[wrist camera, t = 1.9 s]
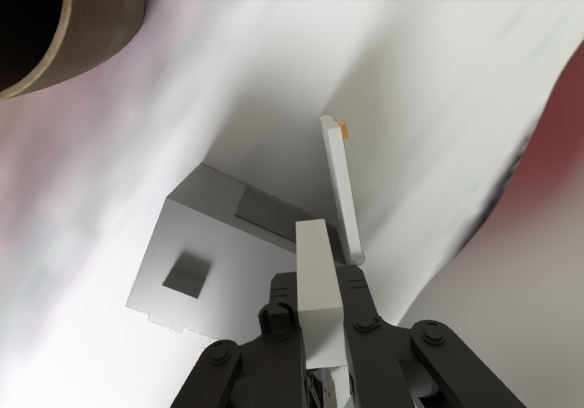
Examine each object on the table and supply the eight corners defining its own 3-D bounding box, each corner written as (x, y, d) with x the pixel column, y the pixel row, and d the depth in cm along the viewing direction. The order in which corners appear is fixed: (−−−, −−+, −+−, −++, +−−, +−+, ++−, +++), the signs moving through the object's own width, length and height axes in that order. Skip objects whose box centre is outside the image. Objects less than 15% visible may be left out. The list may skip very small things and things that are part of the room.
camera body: (308, 306, 41) (315, 397, 29) (166, 249, 37) (111, 326, 26) (357, 234, 37) (386, 307, 25) (201, 161, 33) (154, 208, 22)
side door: (338, 227, 36) (350, 267, 28) (317, 116, 31) (325, 130, 24) (355, 223, 36) (372, 262, 28) (336, 112, 31) (351, 124, 23)
